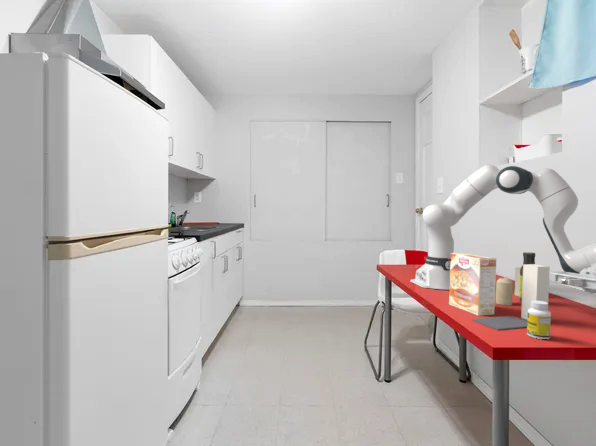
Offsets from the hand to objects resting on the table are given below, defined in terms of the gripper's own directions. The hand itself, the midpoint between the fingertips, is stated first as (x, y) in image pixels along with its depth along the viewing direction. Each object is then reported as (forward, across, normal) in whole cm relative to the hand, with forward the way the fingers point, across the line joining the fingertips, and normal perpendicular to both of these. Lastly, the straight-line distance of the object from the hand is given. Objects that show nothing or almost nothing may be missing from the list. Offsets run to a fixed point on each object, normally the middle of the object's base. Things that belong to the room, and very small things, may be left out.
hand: (564, 281), depth 116 cm
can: (-19, -29, +12) cm, 37 cm away
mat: (+24, 0, +12) cm, 27 cm away
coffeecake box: (+23, -16, +12) cm, 31 cm away
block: (+12, 0, +12) cm, 17 cm away
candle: (+3, -20, +12) cm, 24 cm away
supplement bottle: (+25, +12, +13) cm, 31 cm away
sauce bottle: (-8, -19, +12) cm, 24 cm away
